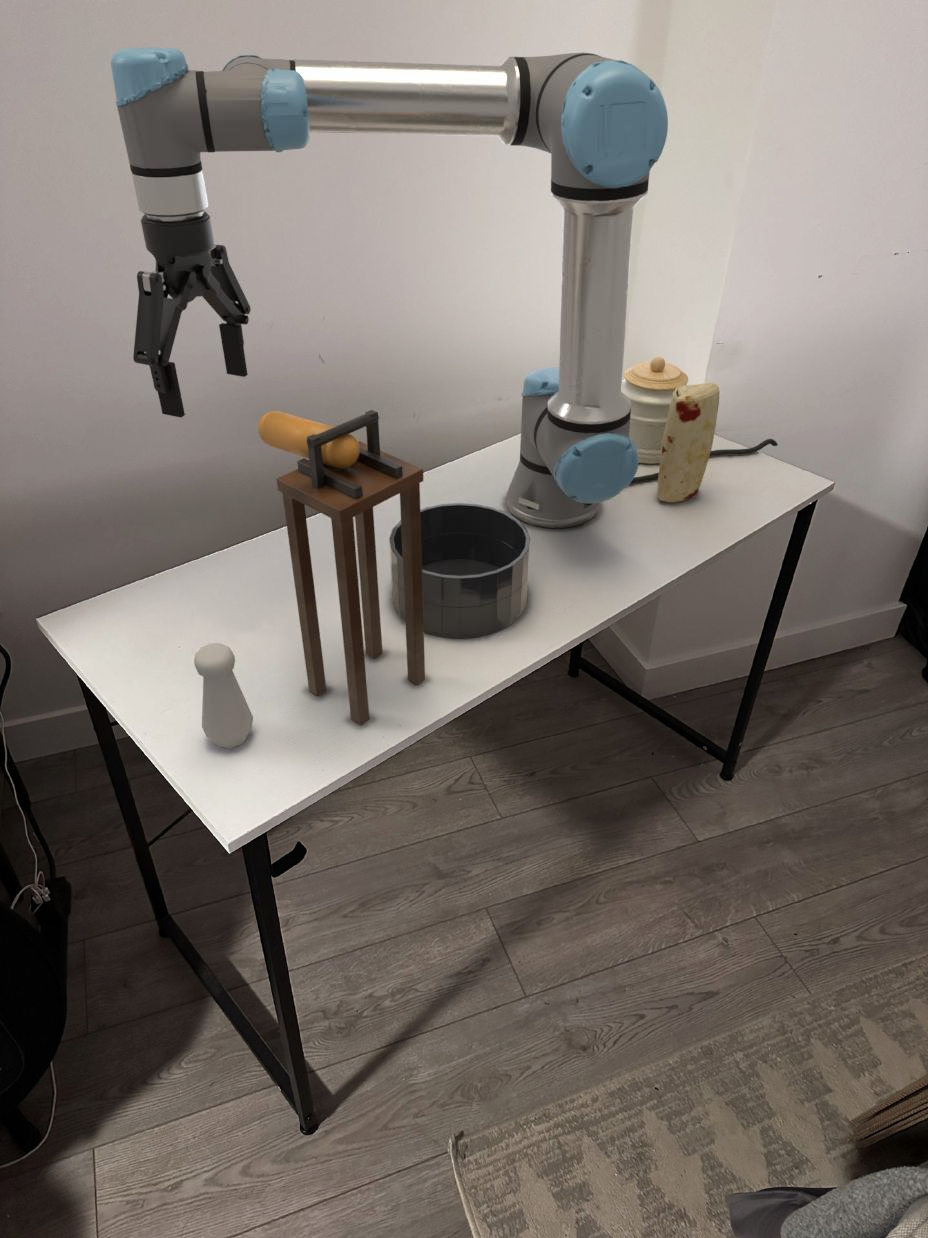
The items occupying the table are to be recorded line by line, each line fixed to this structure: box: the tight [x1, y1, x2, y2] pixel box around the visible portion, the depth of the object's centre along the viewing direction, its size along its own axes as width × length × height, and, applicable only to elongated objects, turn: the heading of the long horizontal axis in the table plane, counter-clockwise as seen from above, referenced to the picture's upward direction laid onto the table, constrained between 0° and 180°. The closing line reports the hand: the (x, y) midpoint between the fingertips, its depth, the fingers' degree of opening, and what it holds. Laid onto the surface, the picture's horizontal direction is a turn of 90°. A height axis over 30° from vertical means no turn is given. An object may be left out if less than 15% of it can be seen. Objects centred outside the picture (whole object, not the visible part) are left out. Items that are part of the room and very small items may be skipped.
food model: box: [657, 382, 720, 503], centre depth 145 cm, size 10×7×20 cm
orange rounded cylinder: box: [257, 410, 360, 469], centre depth 96 cm, size 15×4×4 cm, turn 48°
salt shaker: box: [193, 642, 254, 750], centre depth 101 cm, size 6×6×13 cm
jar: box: [621, 356, 689, 465], centre depth 160 cm, size 13×13×18 cm
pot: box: [388, 502, 531, 640], centre depth 124 cm, size 19×19×10 cm
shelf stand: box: [275, 409, 426, 726], centre depth 101 cm, size 10×12×36 cm
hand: (207, 393), depth 111 cm, fingers open, 13 cm apart
